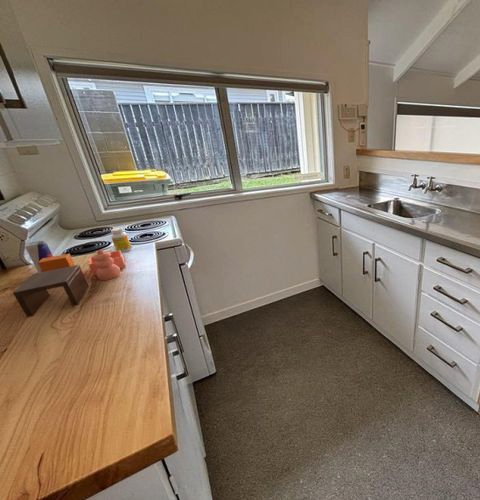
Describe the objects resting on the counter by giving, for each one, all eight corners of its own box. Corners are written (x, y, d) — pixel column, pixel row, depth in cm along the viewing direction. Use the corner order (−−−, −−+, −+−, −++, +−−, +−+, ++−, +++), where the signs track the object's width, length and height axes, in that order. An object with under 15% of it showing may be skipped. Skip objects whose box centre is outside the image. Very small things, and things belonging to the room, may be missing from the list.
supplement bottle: (117, 253, 120) (109, 232, 116) (116, 250, 124) (107, 229, 120) (132, 249, 123) (125, 228, 119) (131, 246, 127) (123, 226, 123)
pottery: (93, 266, 108) (83, 243, 104) (124, 259, 114) (115, 236, 110) (92, 284, 95) (80, 257, 91) (126, 275, 101) (116, 249, 97)
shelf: (27, 317, 79) (12, 292, 75) (44, 296, 89) (32, 273, 86) (78, 304, 83) (66, 281, 80) (89, 286, 94) (79, 264, 91)
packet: (50, 286, 95) (37, 262, 91) (54, 281, 98) (42, 258, 94) (77, 280, 98) (65, 257, 94) (80, 276, 101) (69, 253, 98)
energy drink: (62, 271, 105) (47, 242, 101) (43, 278, 101) (26, 247, 96) (57, 269, 108) (42, 239, 103) (38, 274, 104) (22, 244, 99)
